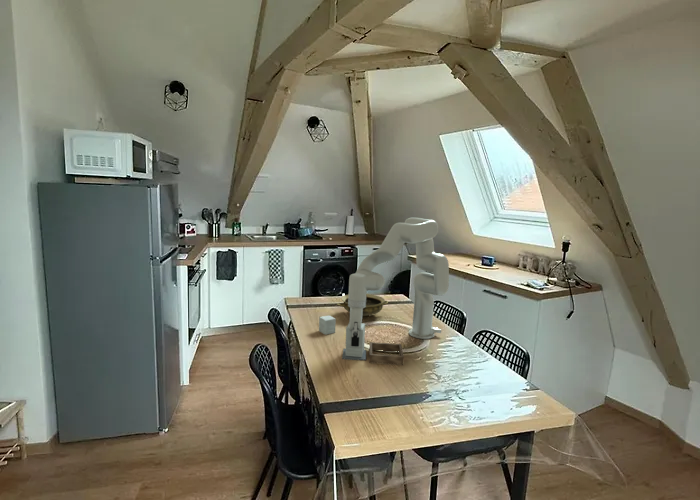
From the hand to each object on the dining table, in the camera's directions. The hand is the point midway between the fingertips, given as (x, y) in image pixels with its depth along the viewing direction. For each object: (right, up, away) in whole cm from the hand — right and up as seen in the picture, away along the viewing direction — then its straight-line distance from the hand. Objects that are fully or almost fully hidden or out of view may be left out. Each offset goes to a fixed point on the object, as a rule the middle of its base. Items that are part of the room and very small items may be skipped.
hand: (355, 341), depth 180 cm
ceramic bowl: (+5, +2, +54) cm, 54 cm away
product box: (-14, -1, +27) cm, 30 cm away
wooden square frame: (+13, -7, 0) cm, 15 cm away
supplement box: (0, -5, +1) cm, 5 cm away
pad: (0, -6, +1) cm, 6 cm away
